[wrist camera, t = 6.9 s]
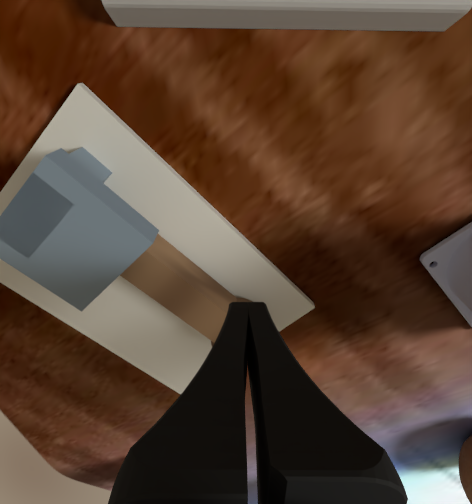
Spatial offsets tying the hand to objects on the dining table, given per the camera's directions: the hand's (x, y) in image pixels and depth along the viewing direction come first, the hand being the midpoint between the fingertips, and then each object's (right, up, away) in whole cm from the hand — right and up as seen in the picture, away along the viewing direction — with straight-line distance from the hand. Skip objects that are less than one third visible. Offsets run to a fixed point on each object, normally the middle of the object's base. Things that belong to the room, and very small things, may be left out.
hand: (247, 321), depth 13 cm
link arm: (-4, +1, +9) cm, 10 cm away
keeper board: (-7, +1, +10) cm, 12 cm away
